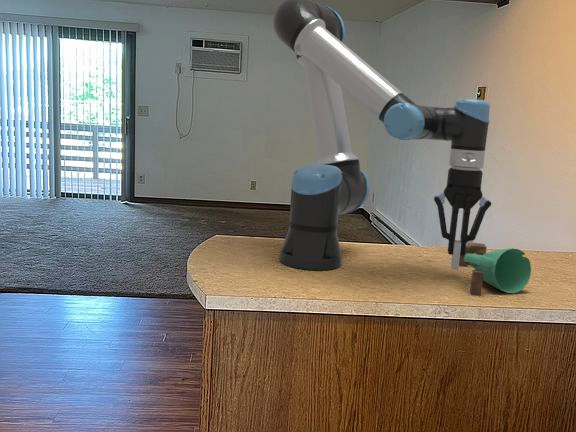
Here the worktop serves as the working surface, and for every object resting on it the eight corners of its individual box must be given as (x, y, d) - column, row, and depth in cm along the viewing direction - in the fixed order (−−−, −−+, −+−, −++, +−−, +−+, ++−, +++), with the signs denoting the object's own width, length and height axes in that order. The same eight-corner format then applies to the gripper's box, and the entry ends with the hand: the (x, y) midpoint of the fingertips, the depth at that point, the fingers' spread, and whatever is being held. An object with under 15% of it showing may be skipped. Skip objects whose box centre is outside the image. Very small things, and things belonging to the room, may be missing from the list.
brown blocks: (471, 294, 120) (473, 271, 119) (456, 259, 151) (458, 240, 150) (503, 298, 119) (506, 275, 118) (482, 261, 149) (484, 243, 148)
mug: (504, 251, 133) (536, 255, 124) (494, 291, 133) (524, 298, 123) (454, 234, 129) (483, 237, 119) (443, 275, 128) (471, 281, 119)
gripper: (437, 167, 126) (426, 269, 130) (498, 172, 124) (485, 275, 128) (435, 165, 133) (425, 261, 137) (492, 169, 131) (481, 267, 135)
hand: (454, 268), depth 133 cm, fingers closed
